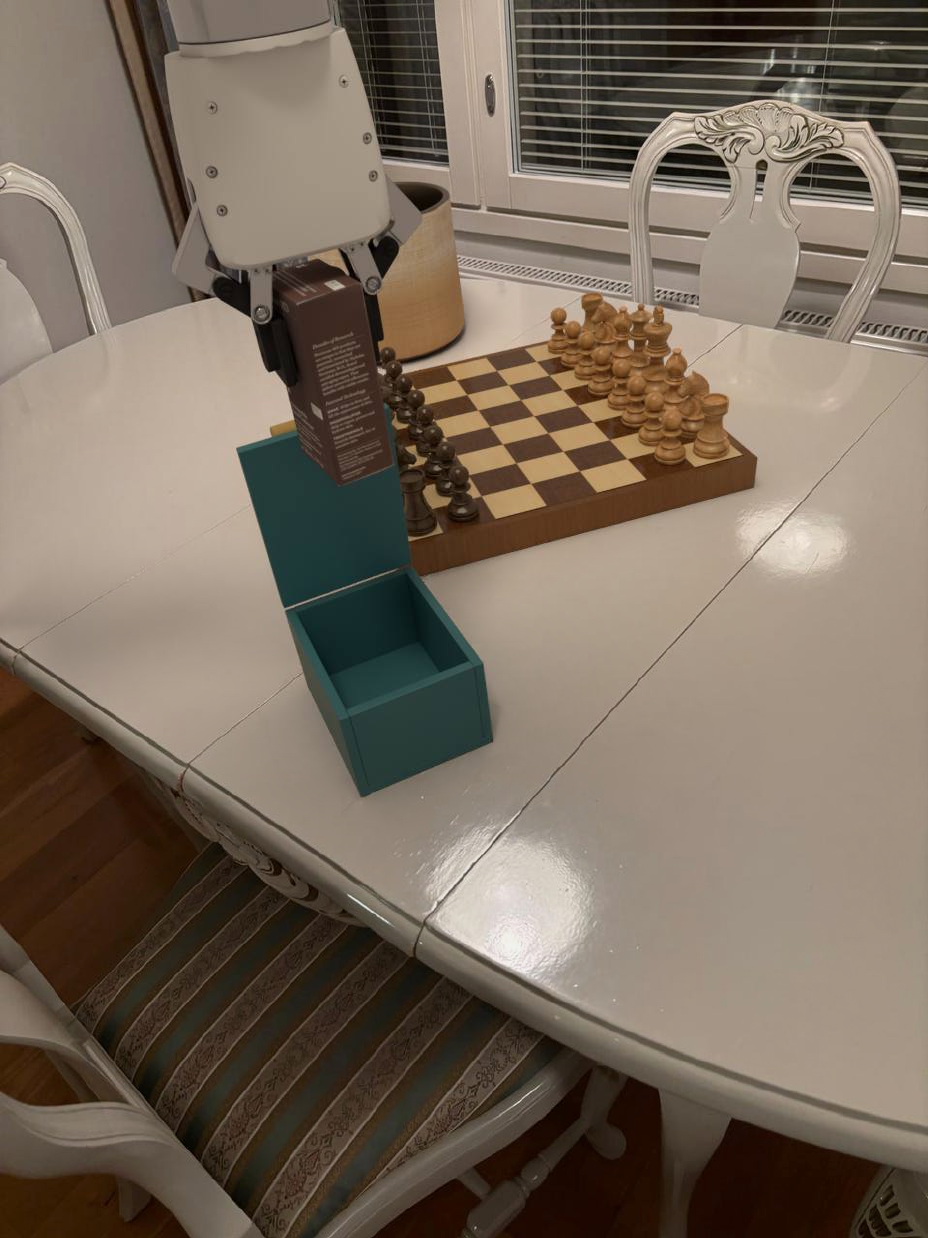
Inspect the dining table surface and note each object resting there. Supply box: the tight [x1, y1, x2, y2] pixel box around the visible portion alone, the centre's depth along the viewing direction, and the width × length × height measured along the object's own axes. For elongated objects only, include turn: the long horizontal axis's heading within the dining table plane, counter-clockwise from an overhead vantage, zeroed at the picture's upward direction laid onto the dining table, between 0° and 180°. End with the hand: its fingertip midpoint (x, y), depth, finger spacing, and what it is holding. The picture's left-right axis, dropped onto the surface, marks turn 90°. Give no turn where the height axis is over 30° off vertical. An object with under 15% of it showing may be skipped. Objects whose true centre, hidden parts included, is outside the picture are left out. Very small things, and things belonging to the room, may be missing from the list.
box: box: [272, 259, 394, 486], centre depth 54 cm, size 6×4×12 cm
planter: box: [307, 181, 465, 365], centre depth 132 cm, size 22×22×20 cm
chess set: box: [378, 292, 759, 577], centre depth 103 cm, size 40×40×15 cm
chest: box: [284, 565, 494, 798], centre depth 73 cm, size 15×12×9 cm
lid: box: [235, 403, 412, 609], centre depth 71 cm, size 15×12×5 cm
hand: (326, 363), depth 54 cm, fingers closed on box, 4 cm apart
